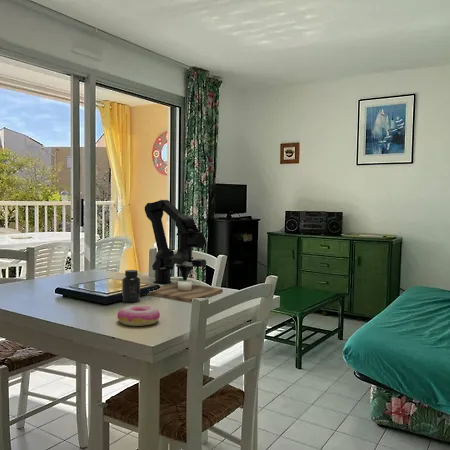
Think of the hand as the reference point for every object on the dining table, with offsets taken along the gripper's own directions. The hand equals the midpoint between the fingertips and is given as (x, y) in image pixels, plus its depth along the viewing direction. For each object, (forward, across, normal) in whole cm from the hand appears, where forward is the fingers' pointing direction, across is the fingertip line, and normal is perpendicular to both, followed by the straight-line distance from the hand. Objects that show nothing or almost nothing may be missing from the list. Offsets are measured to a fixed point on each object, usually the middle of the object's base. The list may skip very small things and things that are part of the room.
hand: (185, 280), depth 203 cm
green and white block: (+2, +2, -5) cm, 6 cm away
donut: (+5, +15, -53) cm, 55 cm away
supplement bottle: (+4, -6, -31) cm, 32 cm away
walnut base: (+4, +5, -8) cm, 10 cm away
